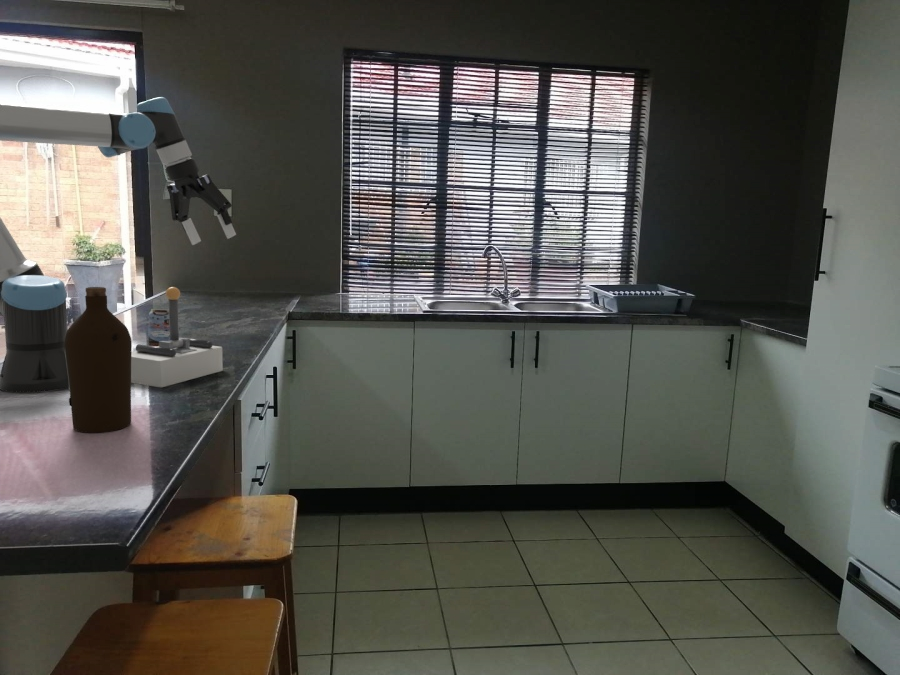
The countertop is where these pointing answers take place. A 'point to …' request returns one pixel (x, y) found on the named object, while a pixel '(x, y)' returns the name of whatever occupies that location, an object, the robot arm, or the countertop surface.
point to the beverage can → (158, 326)
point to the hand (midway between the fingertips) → (214, 240)
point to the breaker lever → (174, 316)
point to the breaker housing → (174, 362)
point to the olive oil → (98, 367)
